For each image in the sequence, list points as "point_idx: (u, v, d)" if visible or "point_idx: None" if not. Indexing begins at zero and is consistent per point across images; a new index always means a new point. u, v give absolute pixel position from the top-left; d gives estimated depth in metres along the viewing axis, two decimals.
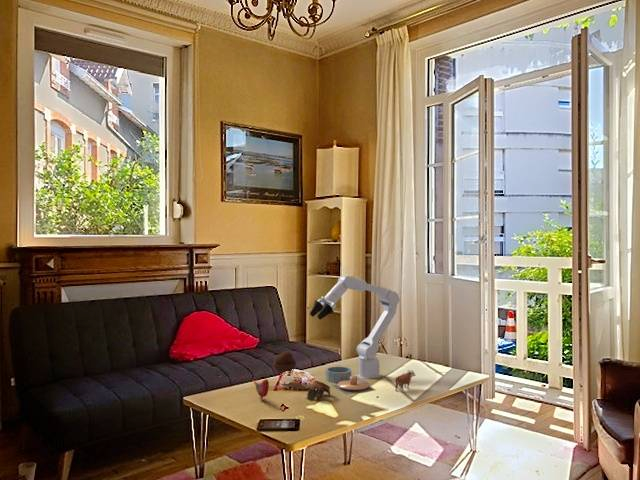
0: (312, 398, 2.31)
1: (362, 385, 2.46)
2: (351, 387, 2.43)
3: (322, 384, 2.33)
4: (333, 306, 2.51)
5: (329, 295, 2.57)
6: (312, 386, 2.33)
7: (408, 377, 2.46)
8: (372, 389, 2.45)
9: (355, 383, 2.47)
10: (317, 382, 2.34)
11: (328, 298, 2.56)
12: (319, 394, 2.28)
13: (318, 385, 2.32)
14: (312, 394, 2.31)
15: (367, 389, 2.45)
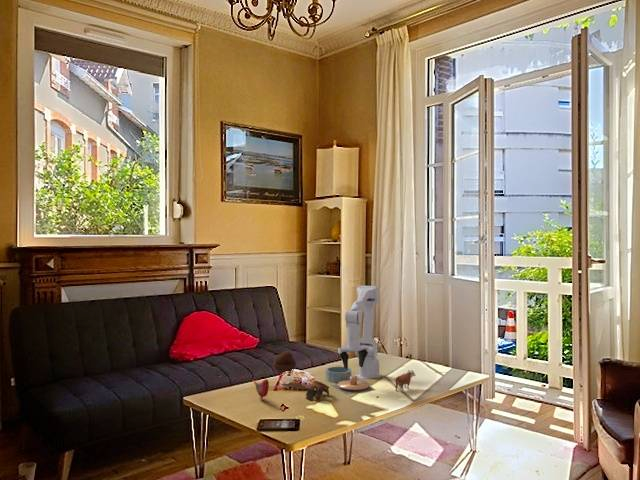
0: (311, 398, 2.31)
1: (362, 385, 2.46)
2: (351, 387, 2.43)
3: (321, 384, 2.33)
4: None
5: (358, 342, 2.46)
6: (311, 386, 2.33)
7: (408, 377, 2.46)
8: (372, 389, 2.45)
9: (355, 383, 2.47)
10: (316, 382, 2.34)
11: (359, 345, 2.47)
12: (318, 394, 2.28)
13: (317, 385, 2.32)
14: (311, 394, 2.31)
15: (367, 389, 2.45)
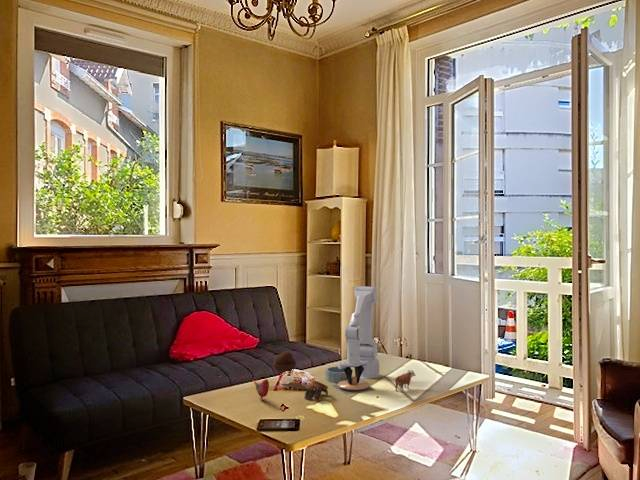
0: (310, 398, 2.31)
1: (362, 385, 2.46)
2: (351, 387, 2.43)
3: (320, 384, 2.33)
4: None
5: (358, 358, 2.46)
6: (310, 386, 2.33)
7: (408, 377, 2.46)
8: (372, 389, 2.45)
9: (355, 383, 2.47)
10: (315, 382, 2.34)
11: (359, 361, 2.47)
12: (317, 394, 2.28)
13: (316, 385, 2.33)
14: (310, 394, 2.31)
15: (367, 389, 2.45)
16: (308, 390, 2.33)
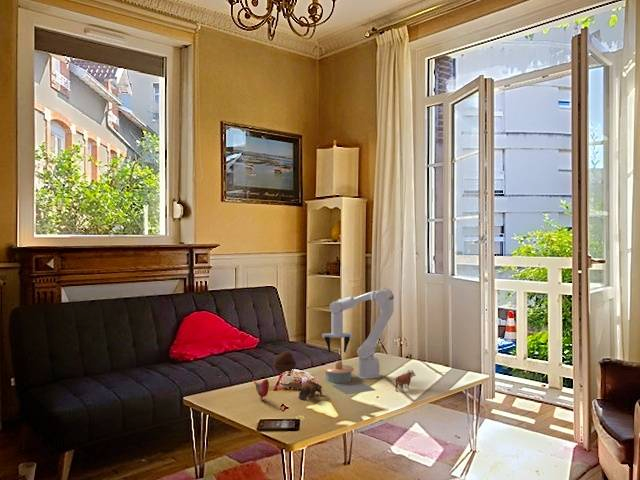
0: (304, 398, 2.31)
1: (347, 369, 2.59)
2: (336, 371, 2.56)
3: (314, 384, 2.33)
4: (351, 335, 2.75)
5: (340, 329, 2.72)
6: (304, 386, 2.33)
7: (408, 377, 2.46)
8: (372, 389, 2.45)
9: (340, 367, 2.60)
10: (309, 382, 2.34)
11: (341, 332, 2.73)
12: (311, 394, 2.28)
13: (310, 385, 2.33)
14: (304, 394, 2.32)
15: (367, 389, 2.45)
16: (302, 390, 2.33)
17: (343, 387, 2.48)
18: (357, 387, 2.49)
